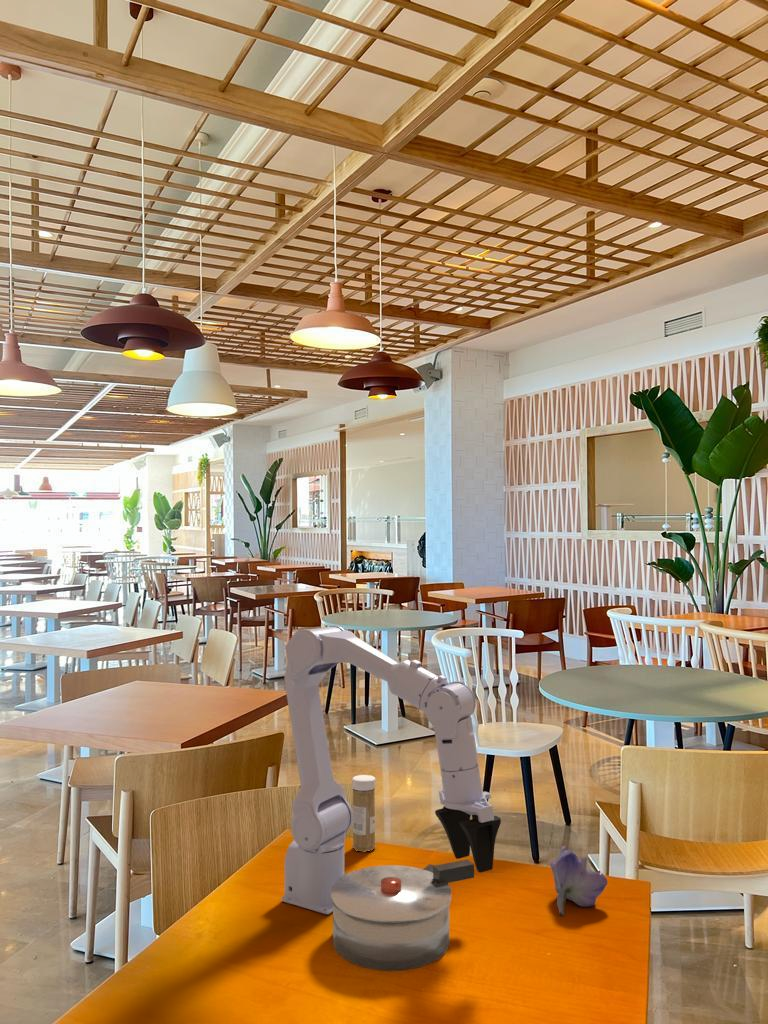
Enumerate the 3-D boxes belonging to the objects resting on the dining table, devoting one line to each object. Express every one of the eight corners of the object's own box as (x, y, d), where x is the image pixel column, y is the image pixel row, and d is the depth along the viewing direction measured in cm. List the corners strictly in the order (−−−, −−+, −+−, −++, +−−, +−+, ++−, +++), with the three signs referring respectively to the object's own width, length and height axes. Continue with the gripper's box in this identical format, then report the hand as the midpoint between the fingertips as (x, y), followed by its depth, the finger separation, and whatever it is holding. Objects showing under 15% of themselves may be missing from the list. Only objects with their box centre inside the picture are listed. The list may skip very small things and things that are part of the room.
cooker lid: (358, 934, 98) (357, 914, 98) (314, 882, 114) (314, 864, 114) (502, 902, 107) (502, 884, 107) (443, 858, 123) (443, 842, 123)
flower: (583, 884, 112) (586, 833, 121) (533, 896, 116) (540, 846, 125) (614, 928, 114) (615, 875, 123) (564, 938, 118) (569, 887, 126)
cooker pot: (414, 984, 97) (414, 936, 98) (309, 949, 106) (309, 905, 107) (484, 912, 117) (484, 873, 117) (391, 888, 126) (391, 852, 126)
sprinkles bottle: (380, 849, 143) (380, 778, 144) (359, 855, 140) (359, 782, 141) (367, 842, 147) (367, 772, 148) (347, 847, 144) (347, 776, 145)
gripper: (506, 768, 105) (522, 869, 103) (463, 756, 118) (476, 845, 116) (461, 778, 103) (476, 882, 101) (422, 764, 116) (435, 856, 114)
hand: (473, 863), depth 108 cm, fingers open, 7 cm apart
